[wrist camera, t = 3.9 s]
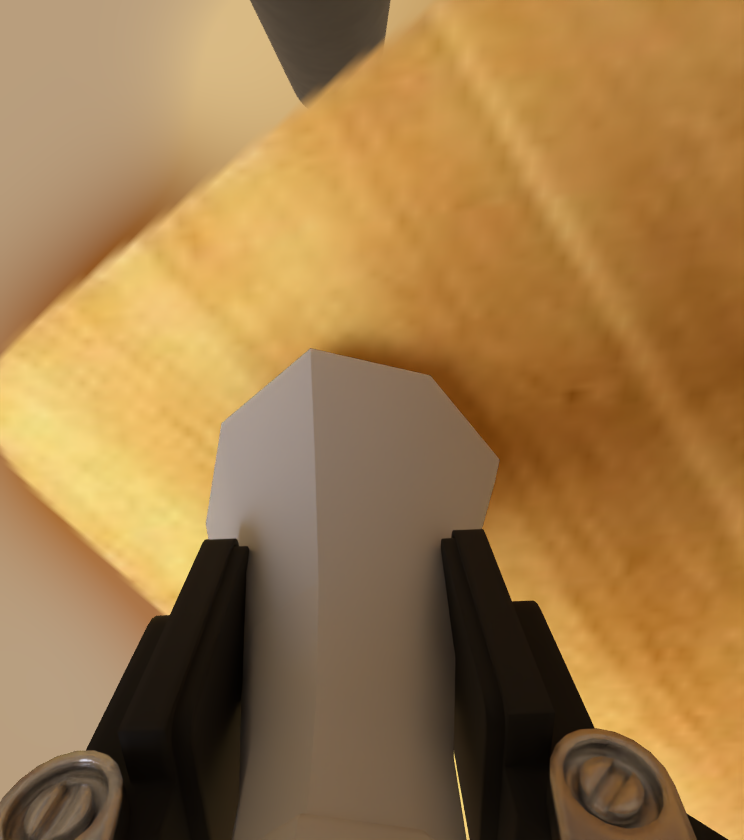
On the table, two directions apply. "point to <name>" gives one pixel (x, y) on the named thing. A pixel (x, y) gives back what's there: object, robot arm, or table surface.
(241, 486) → the flask
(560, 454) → the table surface
